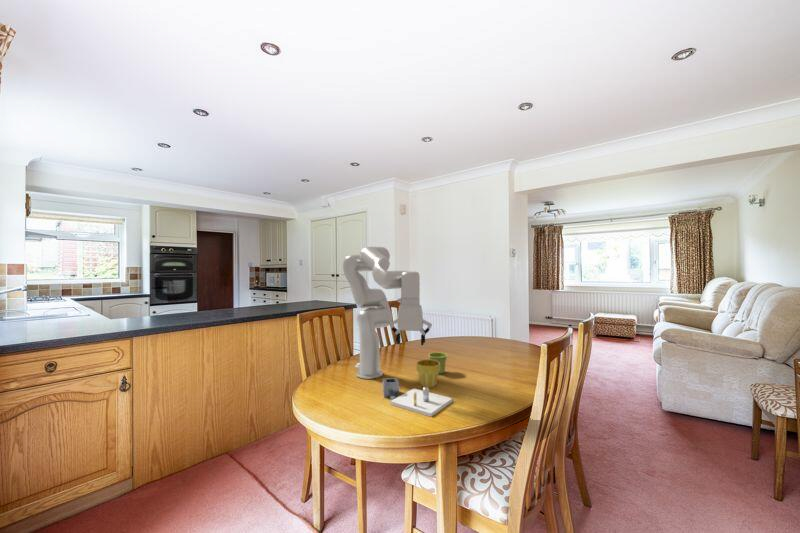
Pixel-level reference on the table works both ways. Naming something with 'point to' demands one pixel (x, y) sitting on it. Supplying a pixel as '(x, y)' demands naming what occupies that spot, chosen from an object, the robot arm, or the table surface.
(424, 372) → the plant pot
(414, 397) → the brass dowel
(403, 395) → the board
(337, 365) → the table surface
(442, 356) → the plant pot
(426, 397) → the steel post
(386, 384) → the grey socket block
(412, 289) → the robot arm
